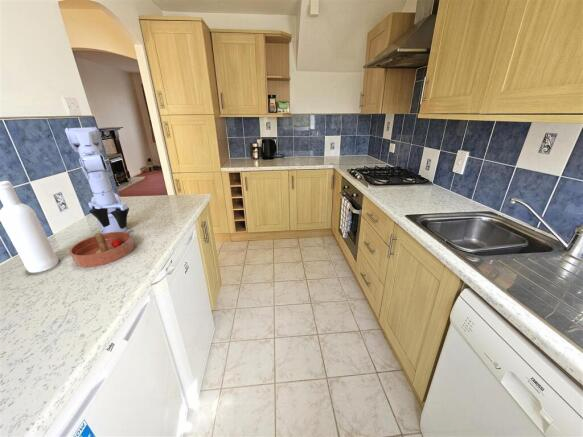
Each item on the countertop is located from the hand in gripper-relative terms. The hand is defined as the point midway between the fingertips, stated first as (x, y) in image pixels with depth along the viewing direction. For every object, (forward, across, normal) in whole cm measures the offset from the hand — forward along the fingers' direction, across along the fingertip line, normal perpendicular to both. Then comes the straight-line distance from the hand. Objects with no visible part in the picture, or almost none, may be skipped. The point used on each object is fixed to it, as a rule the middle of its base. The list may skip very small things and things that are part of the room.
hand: (115, 226), depth 88 cm
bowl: (+10, -4, -3) cm, 12 cm away
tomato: (+8, -4, +1) cm, 9 cm away
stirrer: (+10, -4, -3) cm, 11 cm away
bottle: (+10, -18, -14) cm, 26 cm away
